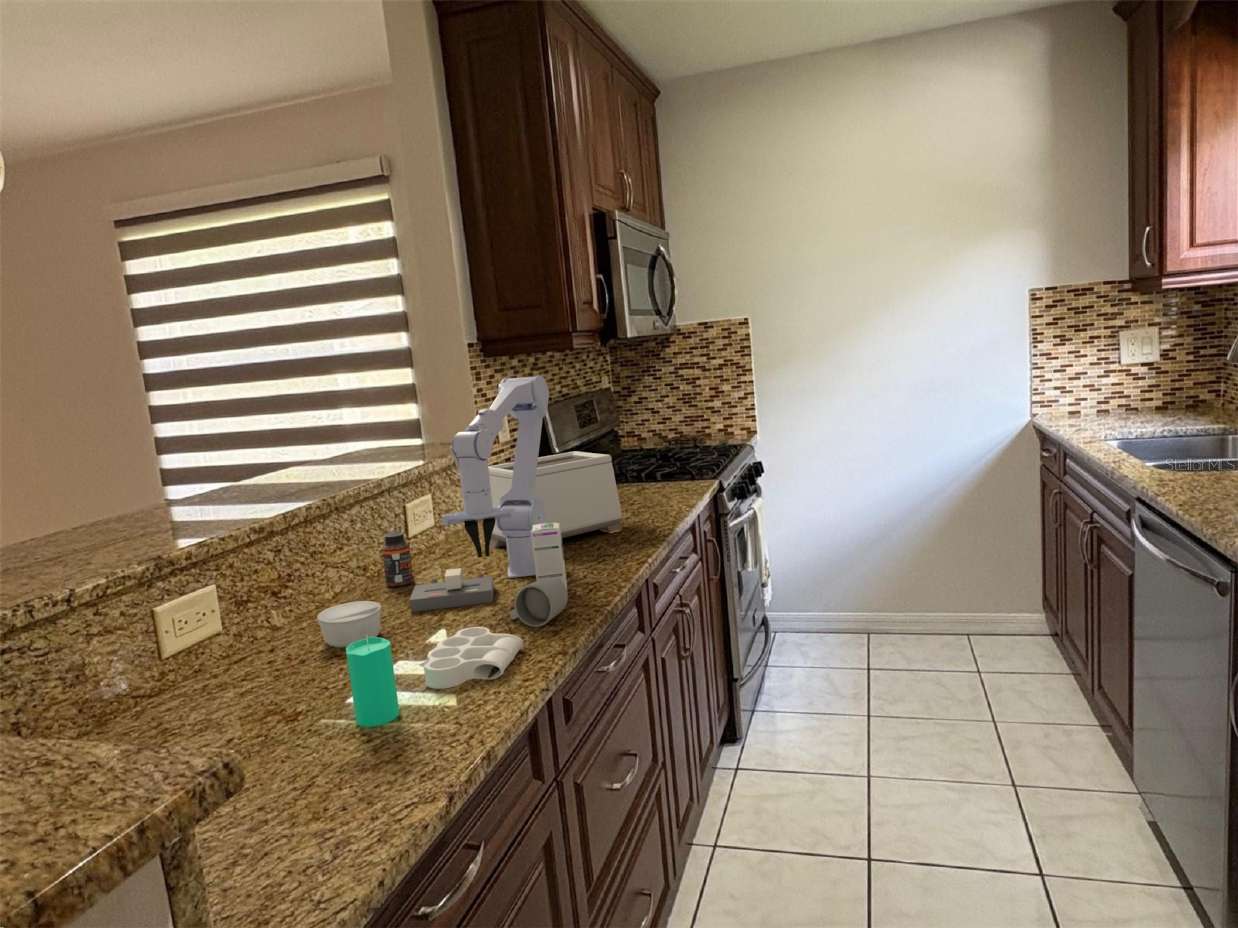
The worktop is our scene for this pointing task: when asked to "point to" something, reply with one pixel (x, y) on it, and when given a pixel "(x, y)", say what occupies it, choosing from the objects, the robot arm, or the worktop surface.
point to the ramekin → (350, 622)
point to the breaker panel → (452, 594)
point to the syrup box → (548, 551)
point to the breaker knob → (453, 579)
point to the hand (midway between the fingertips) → (483, 555)
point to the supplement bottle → (397, 560)
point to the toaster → (567, 492)
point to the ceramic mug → (540, 602)
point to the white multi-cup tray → (469, 657)
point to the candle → (372, 681)
